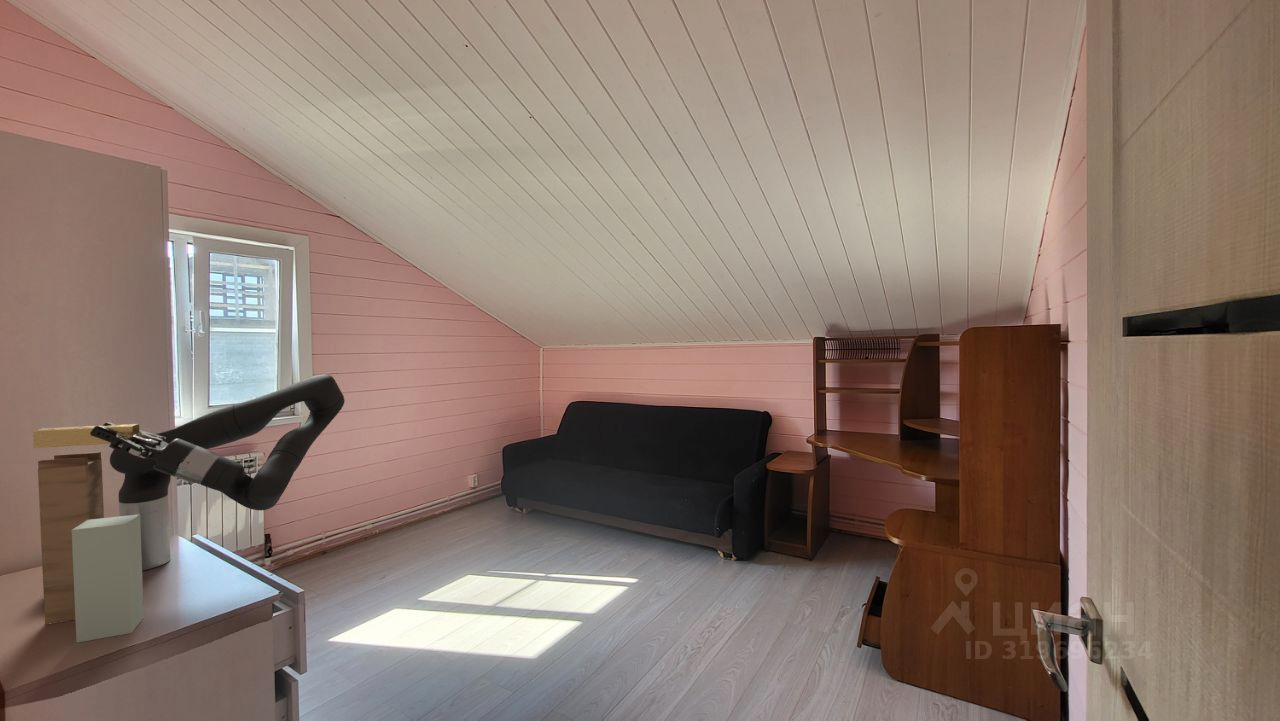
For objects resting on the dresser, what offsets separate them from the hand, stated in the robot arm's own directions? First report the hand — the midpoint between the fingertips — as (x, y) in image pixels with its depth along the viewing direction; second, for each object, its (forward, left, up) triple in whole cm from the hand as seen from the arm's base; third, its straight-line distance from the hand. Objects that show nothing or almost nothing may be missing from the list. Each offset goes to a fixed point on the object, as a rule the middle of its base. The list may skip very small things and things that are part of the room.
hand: (98, 428), depth 113 cm
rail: (0, -2, -3) cm, 4 cm away
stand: (0, -5, -39) cm, 39 cm away
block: (+12, +5, -39) cm, 41 cm away
